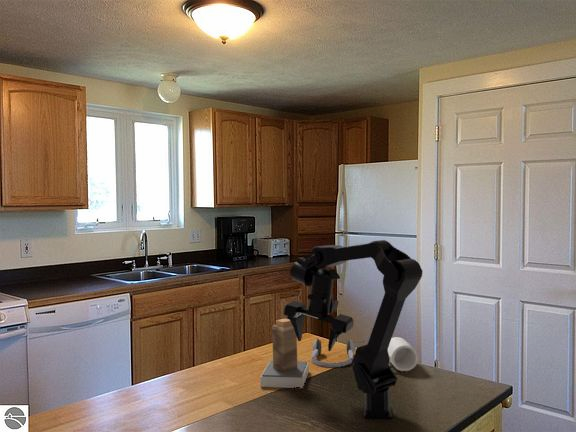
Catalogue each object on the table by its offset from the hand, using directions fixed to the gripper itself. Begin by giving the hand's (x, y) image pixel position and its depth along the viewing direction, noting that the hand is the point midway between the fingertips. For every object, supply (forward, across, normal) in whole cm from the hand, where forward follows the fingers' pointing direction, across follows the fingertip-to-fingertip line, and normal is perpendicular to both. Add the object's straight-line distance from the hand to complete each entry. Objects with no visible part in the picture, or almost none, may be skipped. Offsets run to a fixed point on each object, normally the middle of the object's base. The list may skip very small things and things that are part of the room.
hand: (314, 345), depth 138 cm
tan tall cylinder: (+11, +10, -3) cm, 15 cm away
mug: (+12, -16, -28) cm, 34 cm away
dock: (+14, +9, -3) cm, 17 cm away
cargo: (-1, +12, -4) cm, 13 cm away
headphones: (+16, +3, -28) cm, 32 cm away
